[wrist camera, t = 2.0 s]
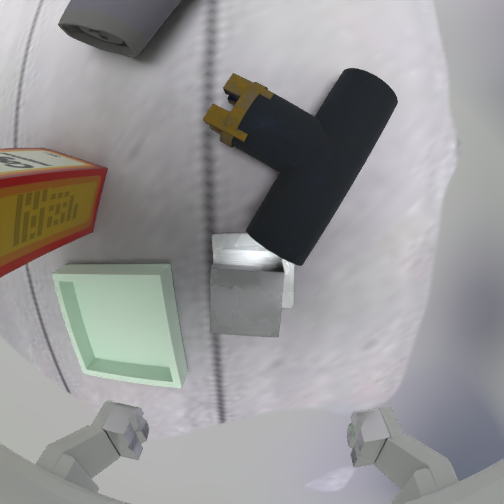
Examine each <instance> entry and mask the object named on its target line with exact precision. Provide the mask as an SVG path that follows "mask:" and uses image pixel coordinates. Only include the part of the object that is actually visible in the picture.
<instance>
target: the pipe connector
mask: <svg viewBox="0 0 504 504" xmlns="http://www.w3.org/2000/svg"><path fill="white" fill-rule="evenodd" d="M223 89H224V91H225V94H228V95H229V97H228V98H227V99H228V101H229V103H231V104H233V105H234V107H233V109H232V111H231V112H229V111H227V110H225V109H223V108H221V107H219V106H217V105H215V104H212V106H211V108H210V109H209V111H208V112H207V114H206V116H205V117H204V119H203V120H204V122H205V123H206V124H208V125H210V128H211V129H212V130H214V131H216V132H218V133H220V134H221V137H220V141H221V142H223V143H225V144H227V145H228V146H230V147H234V146H235V147H236V148H238V149H240V150H242V151H244V152H245V153H247V154H249V155H251V156H253V157H254V158H256V159H258V160H260V161H261V162H263V163H265V164H267V165H268V166H270V167H272V168H273V169H275V170H277V171H278V172H280V174H279V176H278V178H277V179H276V181H275V183H274V184H273V186H272V188H271V189H270V191H269V193H268V194H267V196H266V198H265V199H264V201H263V203H262V204H261V206H260V208H259V209H258V211H257V213H256V214H255V216H254V218H253V219H252V221H251V223H250V225H249V226H248V228H247V230H246V232H247V233H248V235H249V236H250V237H251V238H252V239H254V240H255V241H256V242H257V243H259V244H260V245H261V246H263V247H264V248H266V249H267V250H269V251H270V252H272V253H274V254H275V255H277V256H279V257H280V258H282V259H284V260H286V261H288V262H290V263H293V264H296V265H299V266H301V265H303V263H304V261H305V260H306V258H307V257H308V255H309V254H310V252H311V251H312V249H313V247H314V246H315V244H316V243H317V241H318V240H319V238H320V236H321V235H322V233H323V232H324V230H325V228H326V227H327V225H328V224H329V222H330V220H331V219H332V217H333V215H334V214H335V212H336V211H337V209H338V207H339V206H340V204H341V202H342V201H343V199H344V197H345V196H346V194H347V192H348V191H349V189H350V187H351V186H352V184H353V182H354V181H355V179H356V177H357V175H358V174H359V172H360V170H361V169H362V167H363V165H364V163H365V162H366V160H367V158H368V156H369V155H370V153H371V151H372V149H373V148H374V146H375V144H376V142H377V140H378V139H379V137H380V135H381V133H382V131H383V130H384V128H385V126H386V124H387V122H388V120H389V119H390V117H391V115H392V113H393V111H394V109H395V107H396V105H397V103H398V100H397V96H396V95H395V93H394V91H393V90H392V89H391V88H390V87H389V86H388V85H387V84H386V83H385V82H384V81H383V80H381V79H380V78H378V77H377V76H375V75H373V74H371V73H369V72H367V71H364V70H360V69H355V68H348V69H345V70H344V71H343V72H342V74H341V76H340V77H339V79H338V80H337V82H336V84H335V85H334V87H333V88H332V90H331V92H330V93H329V95H328V96H327V98H326V100H325V101H324V103H323V104H322V106H321V108H320V109H319V111H318V112H317V114H316V116H315V117H314V116H312V115H311V114H309V113H307V112H306V111H304V110H302V109H300V108H299V107H297V106H295V105H294V104H292V103H290V102H288V101H287V100H285V99H283V98H281V97H279V96H277V95H276V94H274V93H272V92H270V91H268V88H267V87H265V86H263V85H261V84H259V83H257V82H254V83H253V82H251V81H249V80H247V79H245V78H243V77H240V76H238V75H236V74H234V73H233V74H232V76H231V77H230V79H229V80H228V81H227V83H226V84H225V86H224V87H223Z"/></svg>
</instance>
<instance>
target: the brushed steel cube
mask: <svg viewBox="0 0 504 504" xmlns="http://www.w3.org/2000/svg"><path fill="white" fill-rule="evenodd" d="M284 276H285V271H284V267H283V263H282V258H280V257H279V256H277V255H275V254H274V253H272V252H264V251H246V250H229V249H221V251H220V253H219V254H218V256H217V258H216V260H215V261H214V263H213V265H212V266H211V268H210V331H211V333H218V334H230V335H244V336H261V337H279V329H280V319H281V309H282V298H283V288H284Z"/></svg>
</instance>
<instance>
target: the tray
mask: <svg viewBox="0 0 504 504" xmlns="http://www.w3.org/2000/svg"><path fill="white" fill-rule="evenodd" d="M52 278H53V282H54V286H55V290H56V294H57V298H58V301H59V305H60V308H61V312H62V315H63V318H64V322H65V325H66V328H67V331H68V334H69V337H70V340H71V342H72V345H73V348H74V351H75V353H76V356H77V359H78V361H79V364H80V366H81V369H82V371H83V373H84V374H88V375H93V376H98V377H103V378H108V379H114V380H120V381H126V382H133V383H139V384H147V385H155V386H164V387H173V388H182V387H183V384H184V381H185V378H186V375H187V372H188V368H187V363H186V358H185V353H184V347H183V342H182V336H181V331H180V325H179V319H178V313H177V306H176V299H175V293H174V286H173V278H172V270H171V263H168V264H67V265H65V266H63V267H62V268H60V269H58V270H57V271H55V272H53V273H52Z"/></svg>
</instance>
